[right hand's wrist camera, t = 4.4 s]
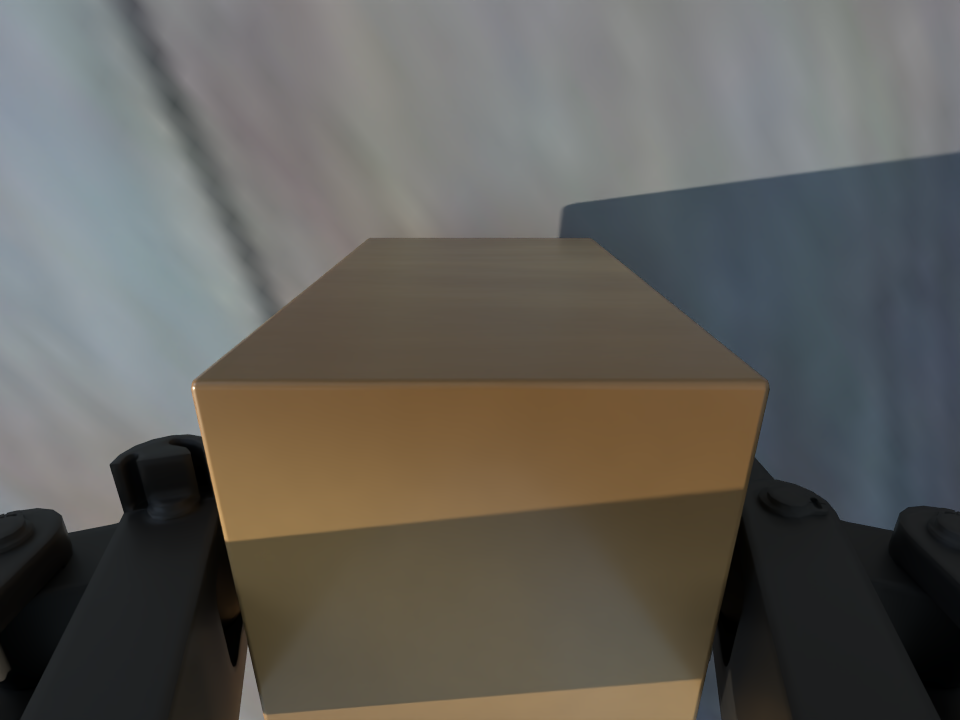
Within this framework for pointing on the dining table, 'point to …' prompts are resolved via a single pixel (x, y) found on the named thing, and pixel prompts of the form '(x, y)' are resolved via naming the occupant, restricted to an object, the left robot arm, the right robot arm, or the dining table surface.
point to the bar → (480, 486)
